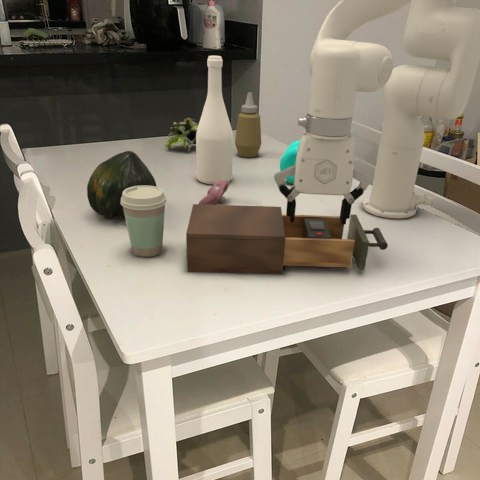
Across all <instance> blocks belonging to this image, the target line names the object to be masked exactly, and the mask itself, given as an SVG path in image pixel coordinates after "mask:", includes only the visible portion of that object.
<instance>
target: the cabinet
mask: <svg viewBox="0 0 480 480" xmlns="http://www.w3.org/2000/svg"><path fill="white" fill-rule="evenodd" d="M191 207H192V208H191V211H190V216H189V220H188V224H187V228H186V233H185V235H186V237H185V239H186V240H185V241H186V271H187V272H194V273H196V272H197V273H198V272H199V273H200V272H201V273H227V274H229V273H230V274H264V275H265V274H266V275H283V271H284V265H283V260H284V248H285V230H284V224H283V217H282V215H283V211H282V206H270V205H269V206H267V205H265V206H264V205H235V204H217V205H206V204H199V203H193V204H192V206H191Z"/></svg>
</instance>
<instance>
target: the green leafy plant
mask: <svg viewBox="0 0 480 480" xmlns="http://www.w3.org/2000/svg"><path fill="white" fill-rule="evenodd" d="M198 125H199V122H196V120H195V118H193V119H192V118H190V117H187V118H182V121H180V122H175V121H174V122H173V126H174V127H170V130H171V131H170V132H169V134H168V138H169V139H168V140H167V141H166V144H165V148H167V149H168V150H170V149H171V148H172V147H174V146H175V145H177V144H179V143H181V144H182V146H183V147H184V148H185V149H187V148H188V150H187V154H189V152H190V150H191V148H192V146H193V145H196V133H197V129H198ZM187 146H188V147H187Z"/></svg>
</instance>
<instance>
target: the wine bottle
mask: <svg viewBox="0 0 480 480" xmlns="http://www.w3.org/2000/svg"><path fill="white" fill-rule="evenodd" d="M206 60H207V61H206V63H207V64H206V65H207V68H208V71H207V94H206V99H205V102H204V105H203V109H202V112H201V116H200V119H199V122H198V129H197V133H196V144H195V157H196V159H195V160H196V161H195V162H196V178H197V180H198V181H199V182H201V184H205V185H211V186H213V185H214V183H215V182H216V181H218V180H221V179H223V180H227V181H228V182H229V183H230V182H231V180H232V179H233V165H234V163H233V159H234V155H233V154H234V133H233V129H232V125H231V122H230V118H229V116H228V115H229V114H228V112H227V108H226V104H225V102H224V97H223V89H222V88H223V84H222V83H223V82H222V81H223V79H222V77H223V76H222V68H223V63H224V62H223V58H222V56H221V55H208V57H207V59H206Z"/></svg>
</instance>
